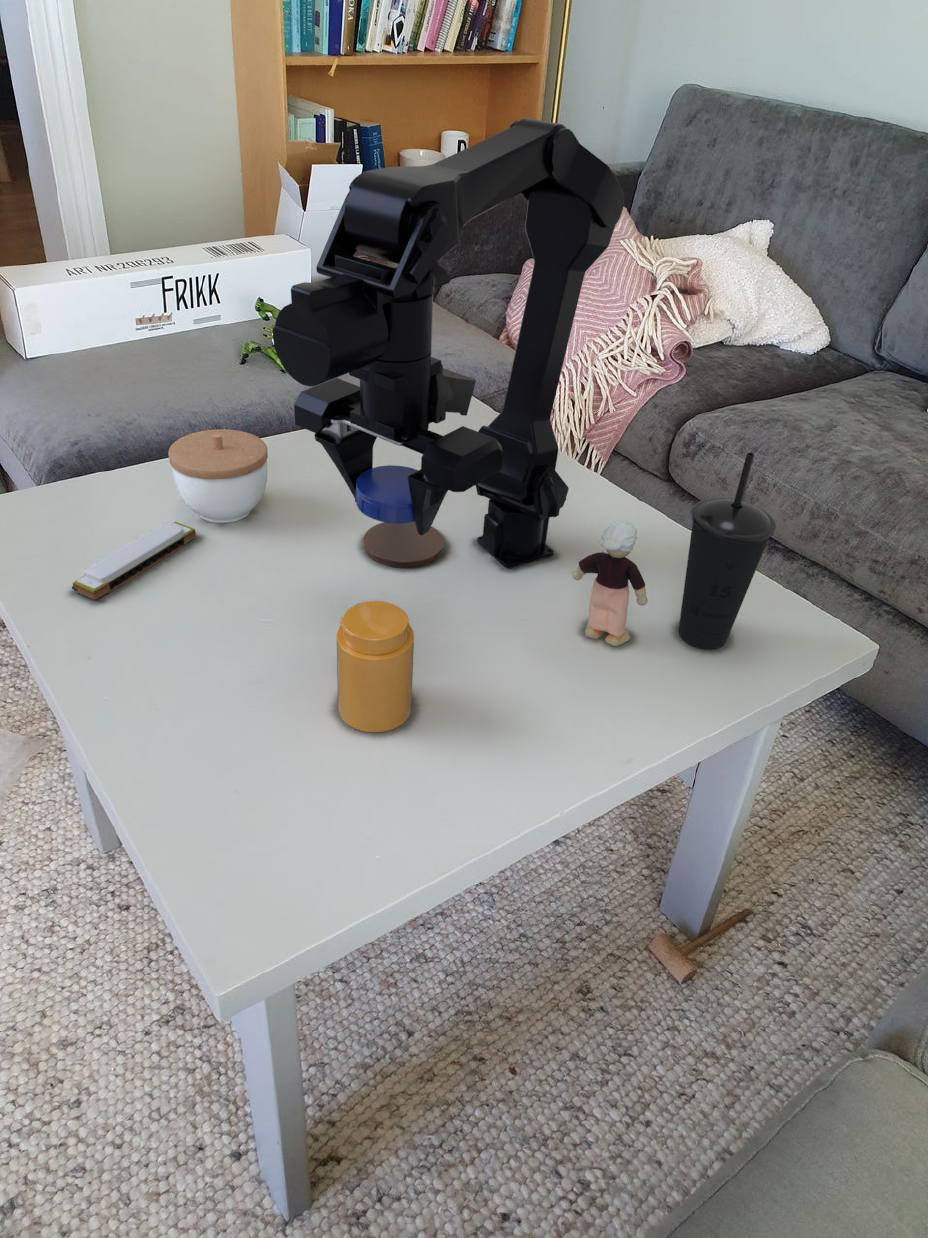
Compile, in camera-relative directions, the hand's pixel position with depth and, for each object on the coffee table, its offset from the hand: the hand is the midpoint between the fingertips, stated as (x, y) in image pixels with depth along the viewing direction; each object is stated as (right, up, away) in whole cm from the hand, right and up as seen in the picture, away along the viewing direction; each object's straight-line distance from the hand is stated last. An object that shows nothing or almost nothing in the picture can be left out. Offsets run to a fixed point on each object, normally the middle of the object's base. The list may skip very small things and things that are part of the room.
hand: (394, 519), depth 82 cm
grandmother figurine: (+20, -11, +10) cm, 25 cm away
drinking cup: (+30, -11, +10) cm, 34 cm away
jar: (-2, -17, -1) cm, 17 cm away
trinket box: (-22, +4, +25) cm, 33 cm away
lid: (0, +2, -2) cm, 3 cm away
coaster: (0, -1, +21) cm, 21 cm away
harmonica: (-28, -3, +14) cm, 32 cm away
